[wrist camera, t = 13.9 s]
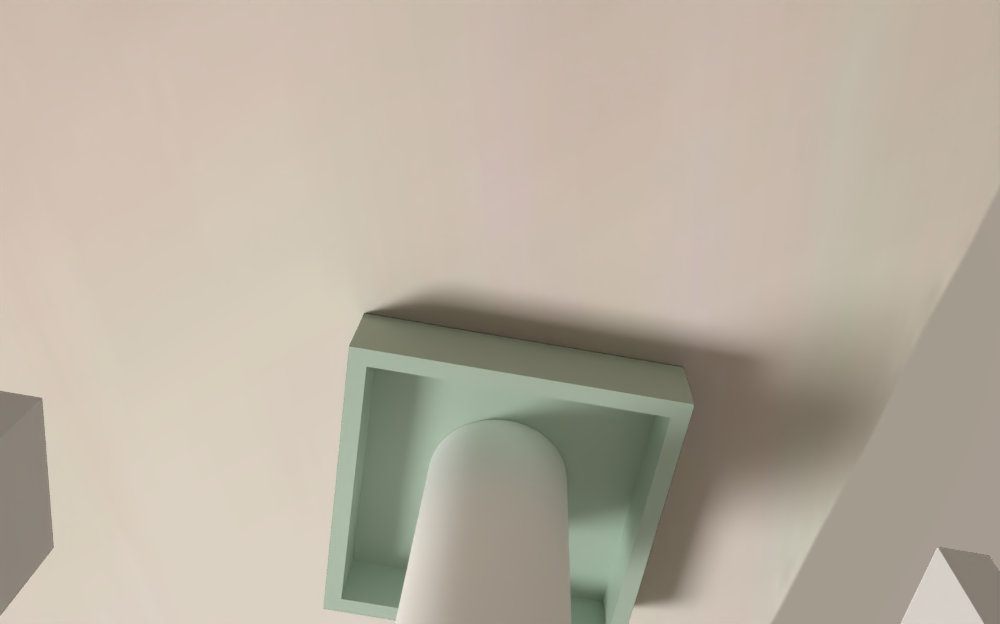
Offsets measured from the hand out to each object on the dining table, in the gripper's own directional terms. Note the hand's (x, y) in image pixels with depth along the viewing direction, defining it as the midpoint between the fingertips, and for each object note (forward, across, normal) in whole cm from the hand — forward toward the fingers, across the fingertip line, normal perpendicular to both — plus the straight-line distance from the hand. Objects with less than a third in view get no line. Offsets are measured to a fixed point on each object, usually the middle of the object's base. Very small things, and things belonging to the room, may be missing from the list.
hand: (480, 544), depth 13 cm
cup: (+32, +2, -22) cm, 39 cm away
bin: (+33, +2, -22) cm, 39 cm away
